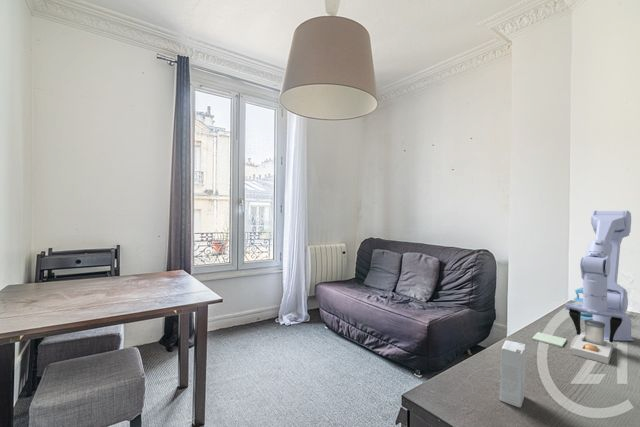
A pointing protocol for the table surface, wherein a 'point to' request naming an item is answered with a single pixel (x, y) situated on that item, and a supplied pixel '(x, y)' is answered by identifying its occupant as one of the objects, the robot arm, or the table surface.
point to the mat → (549, 339)
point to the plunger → (591, 347)
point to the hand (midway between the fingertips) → (594, 337)
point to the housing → (601, 354)
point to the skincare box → (512, 373)
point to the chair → (582, 301)
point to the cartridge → (594, 332)
